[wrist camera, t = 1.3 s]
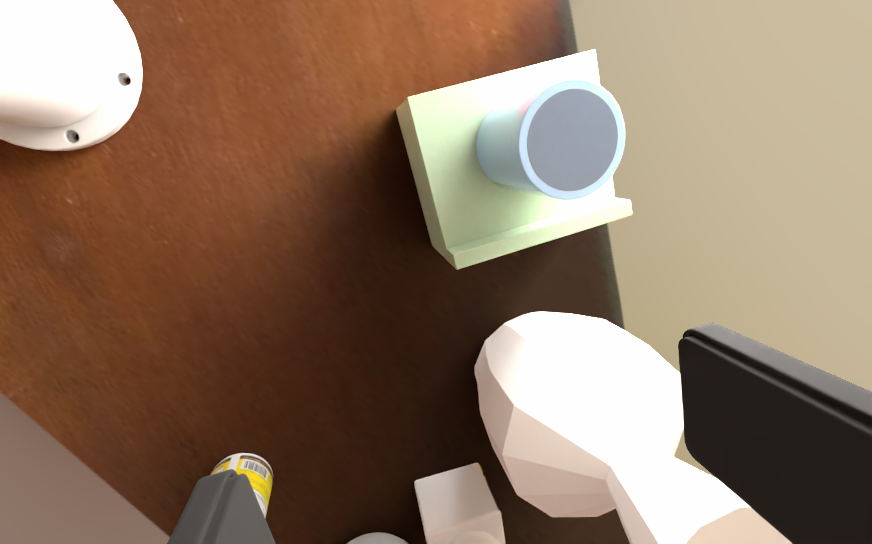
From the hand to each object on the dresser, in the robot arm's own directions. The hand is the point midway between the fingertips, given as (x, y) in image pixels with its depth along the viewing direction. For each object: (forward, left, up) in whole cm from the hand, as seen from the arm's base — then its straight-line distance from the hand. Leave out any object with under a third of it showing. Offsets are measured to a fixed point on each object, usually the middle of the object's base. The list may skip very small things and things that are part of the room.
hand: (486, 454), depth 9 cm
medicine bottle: (+30, -1, -31) cm, 43 cm away
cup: (-4, +11, -24) cm, 26 cm away
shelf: (-3, +11, -31) cm, 33 cm away
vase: (+16, +10, -31) cm, 36 cm away
